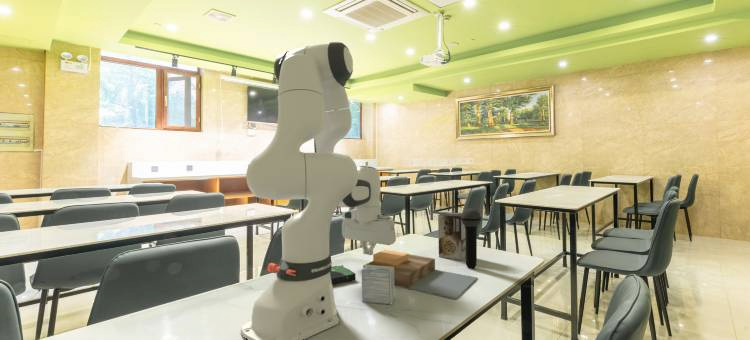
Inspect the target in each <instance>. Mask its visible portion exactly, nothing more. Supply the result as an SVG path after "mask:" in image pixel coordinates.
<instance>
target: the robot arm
mask: <svg viewBox="0 0 750 340" xmlns="http://www.w3.org/2000/svg"><path fill="white" fill-rule="evenodd" d="M353 69H354V61H353V57H352V54H351V51H350V49H349V48H348V46H347V45H346V44H344V43H343V42H339V41H335V42H334V41H332V42H329V43H321V44H315V45H307V46H303V47H299V48H296V49H293V50H291V51H289V50H287V51H284V52H281V53H280V54H278V55H277V57H276V59H275V61H274V63H273V72H274V75H275V79H276V81H277V82H278V89H277V91H278V92H277V98H278V99H277V100H278V102H277V103H278V106H277V107H278V113H277V126H276V131H275V134H274V136H273V138H272V140H271V141H270V143H269V144H268V146H267V147H266V148H265V149H264V150H262V151H261V152H260V154H258V155H256V156H255V157H254V158H253V159H252V160H251V161H250V162H249V165H248V166H247V169H246V173H245V176H246V177H245V178H246V179H245V180H246V184H247V187H248V189H249V190H250V193H252V194H253V196H255V198H259V199H266V200H272V201H273V200H274V201H285V200H286V201H287V200H290V201H291V200H307V201H308V202H307V205H306V207H305V208H304V209H303V210H301V211H300V212H298V213H296V214H294V215H292V216H291V217H289V218H288V219H287V220H286V221H285V222H284V223H283V224H282V228H281V255H282V256H281V258H280V261H279V263H274V262H270V263H268V266H267V271H268V272H269V273H273V274H276V277H275V278H274V279H273V280H272V281H271V283H270V284H269V285H268V286H267V288H266V289H265V290H264V291H263V292H262V293H261V294H260V295H259V297H257V299H256V300H255V301H254V302H253V303H254V304H253V307H252V314H251V320H249V321H247V322H246V323H244V324H243V325H241V327H240V334H241V333H242V334H241V336H242V335H243V336H244V337H246V338H247V339H249V340H303V339H304V340H306V339H308V338H310V337H312V336H314V335H317V334H319V333H321V332H324V331H325V330H328V329H330V328H332V327H334V326H337V325H338V324H339V323H340V320H339V316H338V308H337V305H336V301H335V294H334V288H333V287H334V285H333V286H332V281H331V276H330V271H331V269H332V267H333V266H332V255H331V253H330V231H331V223H332V219H333V216H334V214H335V212H336V209H337V208H338V207H340V208H349V210H346V211H343V212H342V218H343V219H342V223H341V235H342V237H343V238H344V239H347V240H354V241H359V243H360V246H361V248H362V253H363V255H367V256H373V255H374V250H375V247H376V246H377V244H379V245H383V246H384V245H385V246H390V245H391V246H392V245H393V244H394V243H396V242H397V241H396V239H397V237H396V229H395V220H394V219H393V218H392V217H391V216H390V215H383V214H381V213H382V211H381V206H382V204H381V201H380V195H381V177H380V172H379V170H378V169H377V168H376V167H373V166H366V165H359V166H357V164H356V162H355V161H354V159H353V158H352V157H351V156H350V155H347V154H341V153H336V152H334V151H335V147H336V145H337V144H338V142H340V141H341V140H343V139H344V138H345V137H346V136H348V134H349V133H350V130H351V129H352V112H351V108H350V102H349V98H348V94H347V91H346V88H345V87H346V85H347V82H348V81H349V80H350V78H351V77H352V75H353V72H354V71H353ZM312 140H313V146H314V149H313V150H314V152H304V151H303V152H302V151H301V149H300V148H301V147H302V145H304V144H305V143H307V142H309V141H312ZM367 243H368V244H369V245H368V246H369V247H368V246H367ZM243 336H242V337H243ZM244 337H243V338H244Z"/></svg>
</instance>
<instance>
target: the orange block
mask: <svg viewBox="0 0 750 340" xmlns="http://www.w3.org/2000/svg"><path fill="white" fill-rule="evenodd" d="M408 254H409V253H407V252H401V251H395V250H389V249H383V250H380V251H379V252H376V253H373V255H372V259H373V260H372V261H377V262H382V263H387V264H392V265H399V264H401V263H403V262H405V261H406V260H408Z"/></svg>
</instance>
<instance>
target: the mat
mask: <svg viewBox="0 0 750 340" xmlns="http://www.w3.org/2000/svg"><path fill="white" fill-rule="evenodd" d="M477 280H478V277H476V276H471V275H466V274H460V273H456V272H451V271H447V270H445V271H444V270H439V269H435V270H434V271H432V272H431V273H429V274H428V275H426V276H425V277H423V278H422V279H420V280H419V281H417V282H416V283H414V284H413V285H411V286H410V287H409V289H408V290H413V291H416V292H421V293H425V294H430V295H435V296H439V297H443V298H447V299H451V300H457V299H458V298H459V297H461V296H462V294H464V292H466V291H467V290H468V289H469V288H470V287H471V286H472V285H473V284H474V283H475V282H476V281H477Z"/></svg>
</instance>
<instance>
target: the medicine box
mask: <svg viewBox="0 0 750 340" xmlns="http://www.w3.org/2000/svg"><path fill="white" fill-rule="evenodd" d="M395 289H396V288H395V285H394V267H389V266H376V265H366V266H365V267H364V268H363V267H362V270H361V297H362V298H361V299H362V300H361V301H362V302H364V303H374V304H382V305H392V304H393V302H394V300H395V297H396V295H395V294H396V292H395V291H396V290H395Z"/></svg>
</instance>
